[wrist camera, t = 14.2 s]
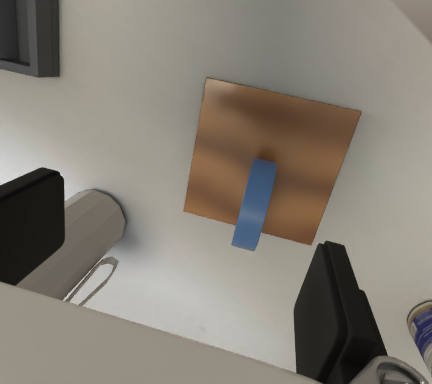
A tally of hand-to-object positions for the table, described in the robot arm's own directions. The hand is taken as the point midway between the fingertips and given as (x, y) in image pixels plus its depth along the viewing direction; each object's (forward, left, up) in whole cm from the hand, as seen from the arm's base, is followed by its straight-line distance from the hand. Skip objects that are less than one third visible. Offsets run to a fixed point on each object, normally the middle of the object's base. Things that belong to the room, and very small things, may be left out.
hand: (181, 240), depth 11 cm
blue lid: (+3, +3, -20) cm, 20 cm away
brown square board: (+3, +3, -21) cm, 21 cm away
